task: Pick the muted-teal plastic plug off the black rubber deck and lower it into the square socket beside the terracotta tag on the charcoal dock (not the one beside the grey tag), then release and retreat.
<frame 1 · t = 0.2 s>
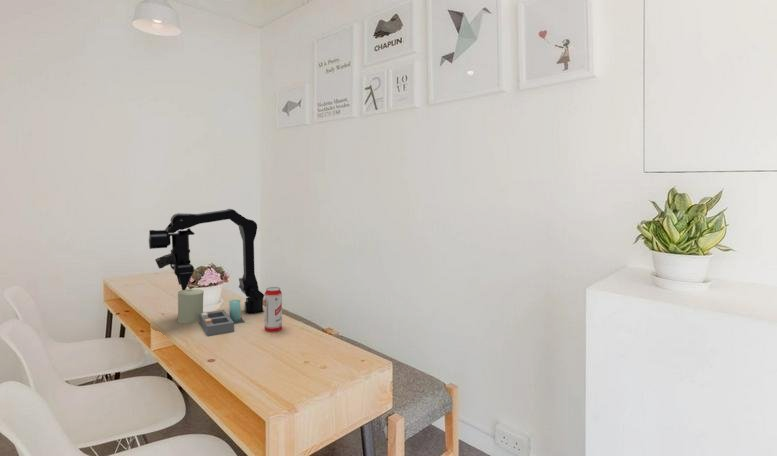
hand: (182, 287, 154), 14 cm above the table, fingers open, 9 cm apart
dock: (216, 328, 152), on the table
plug: (235, 320, 158), point 1 cm above the table, touching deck
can: (190, 320, 159), on the table
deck: (235, 322, 158), on the table
beer can: (273, 331, 151), on the table
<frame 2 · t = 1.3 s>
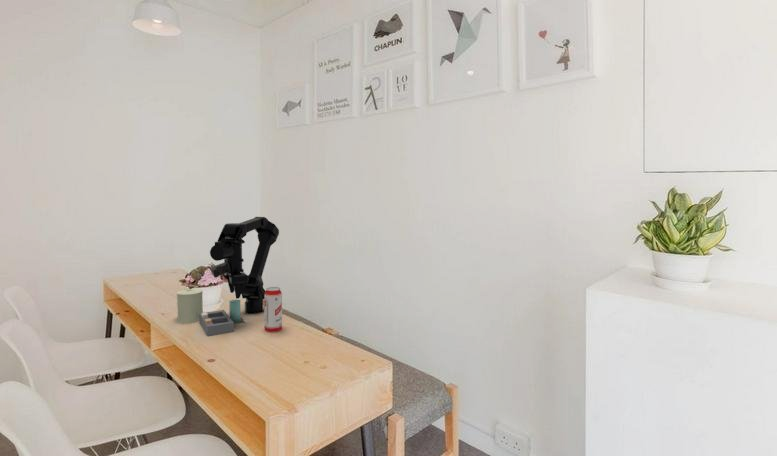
hand: (234, 295, 157), 11 cm above the table, fingers open, 9 cm apart
nothing on the table moved.
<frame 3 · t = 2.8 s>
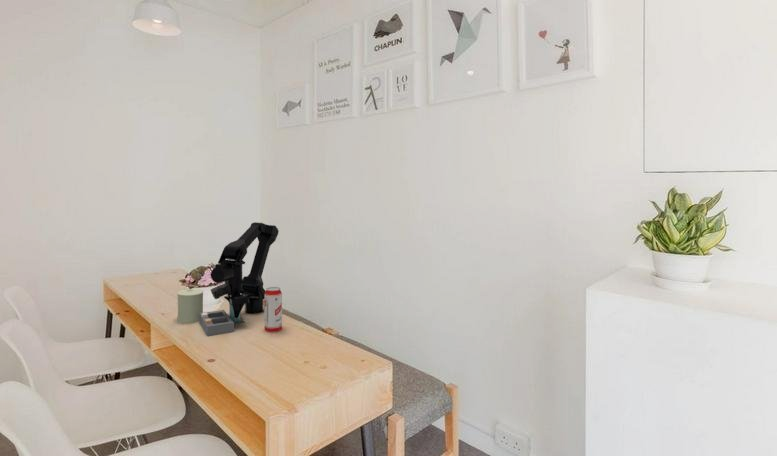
hand: (235, 316, 158), 3 cm above the table, fingers closed on plug, 4 cm apart
plug: (235, 320, 158), point 1 cm above the table, touching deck, gripper
everything else where it was.
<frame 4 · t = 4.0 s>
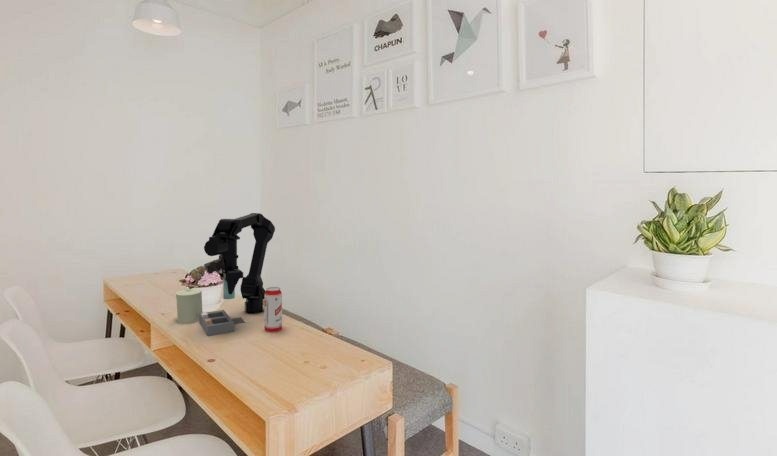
hand: (229, 292, 153), 13 cm above the table, fingers closed on plug, 4 cm apart
plug: (229, 297, 153), point 11 cm above the table, touching gripper
everything else where it was.
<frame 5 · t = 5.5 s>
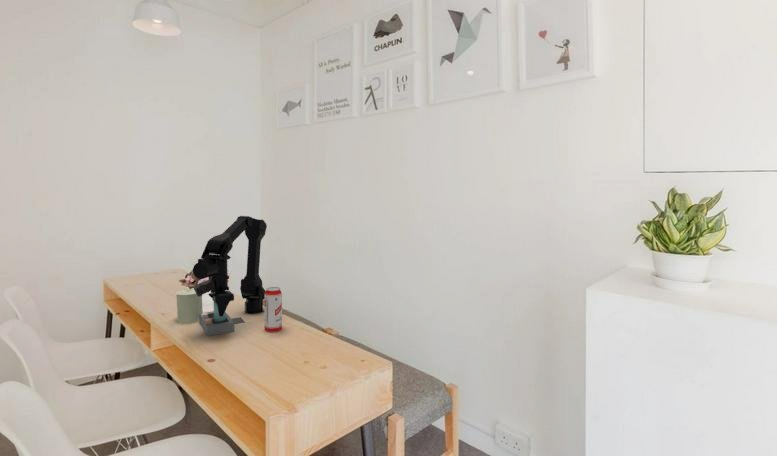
hand: (219, 314, 148), 6 cm above the table, fingers closed on plug, 4 cm apart
plug: (219, 319, 148), point 4 cm above the table, touching gripper
everything else where it was.
when the fingers open (4 cm above the table, at t = 6.6 s): plug drops 2 cm, resting on dock.
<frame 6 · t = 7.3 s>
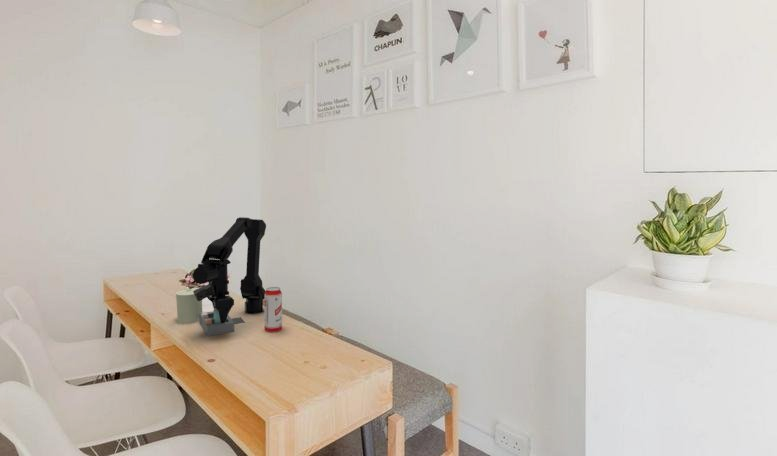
hand: (219, 319, 148), 4 cm above the table, fingers open, 9 cm apart
plug: (219, 329, 149), point 1 cm above the table, touching dock
everything else where it was.
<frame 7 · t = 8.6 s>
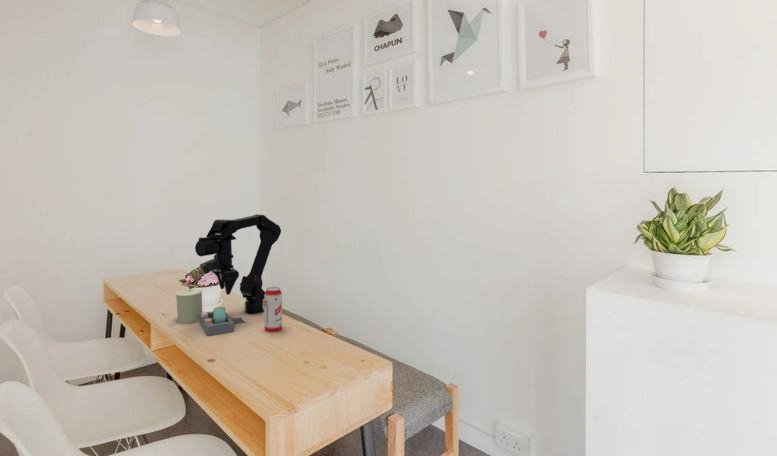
hand: (225, 291, 157), 12 cm above the table, fingers open, 9 cm apart
nothing on the table moved.
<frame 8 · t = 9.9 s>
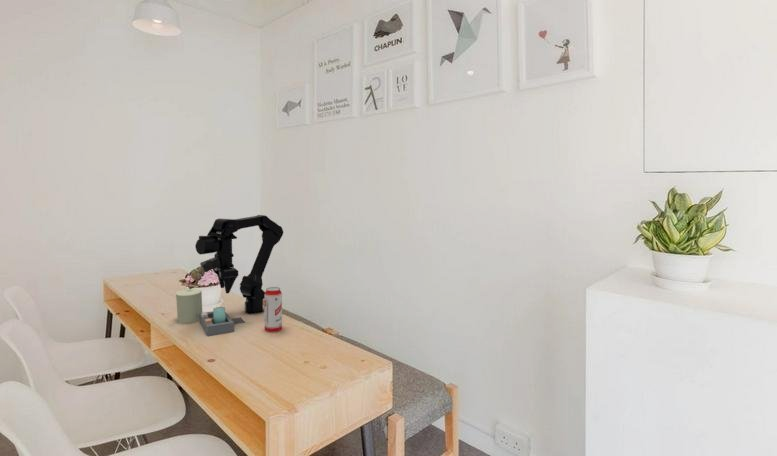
hand: (224, 290, 158), 13 cm above the table, fingers open, 9 cm apart
nothing on the table moved.
at the end: plug 0.0 cm from the target spot on the dock, point 0.6 cm above the dock's base; plug tilted 2°; the gripper is holding nothing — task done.
